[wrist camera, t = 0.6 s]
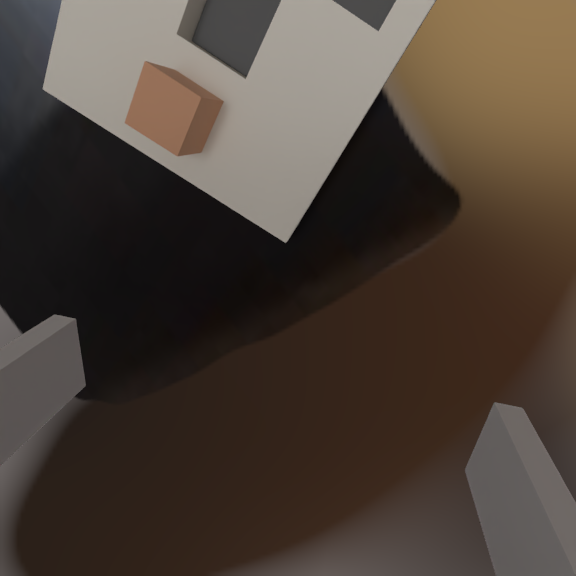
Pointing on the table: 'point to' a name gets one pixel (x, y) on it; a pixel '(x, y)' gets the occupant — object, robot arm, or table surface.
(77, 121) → the table surface
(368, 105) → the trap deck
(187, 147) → the block
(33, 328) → the robot arm
